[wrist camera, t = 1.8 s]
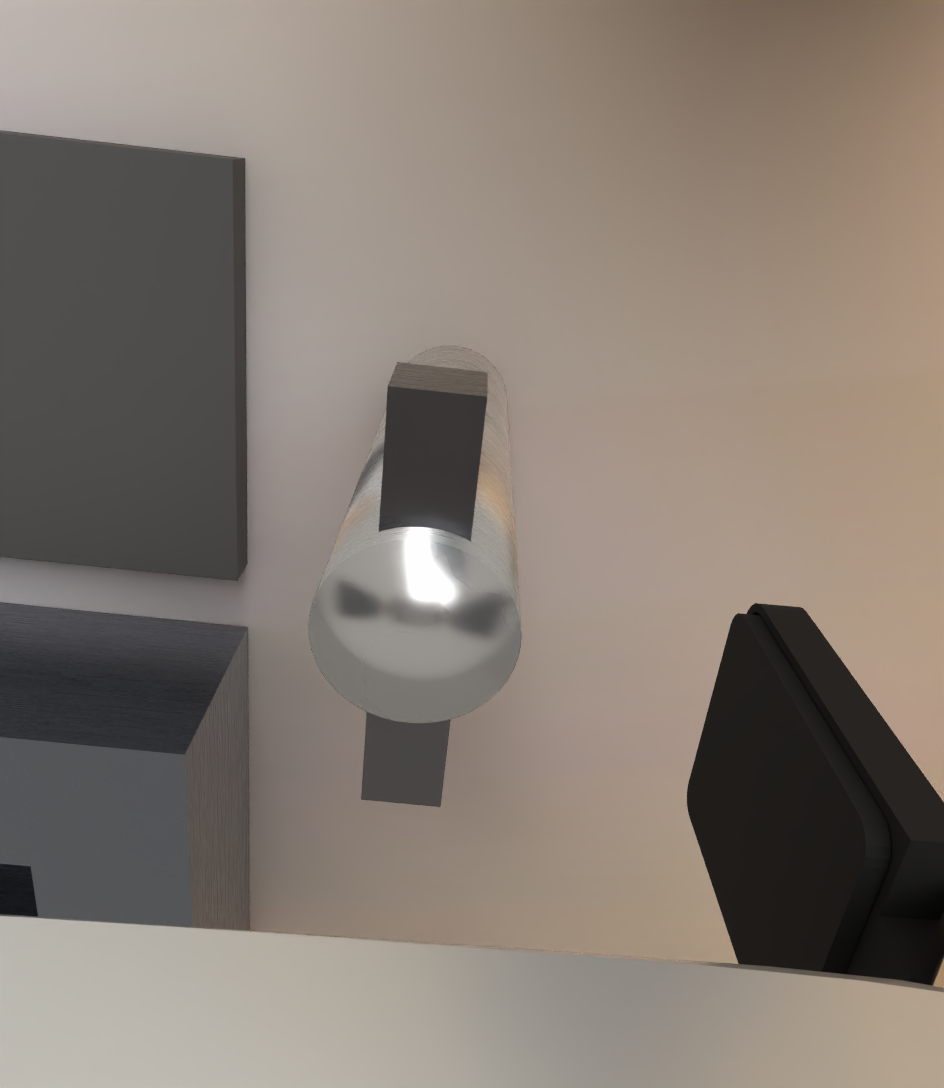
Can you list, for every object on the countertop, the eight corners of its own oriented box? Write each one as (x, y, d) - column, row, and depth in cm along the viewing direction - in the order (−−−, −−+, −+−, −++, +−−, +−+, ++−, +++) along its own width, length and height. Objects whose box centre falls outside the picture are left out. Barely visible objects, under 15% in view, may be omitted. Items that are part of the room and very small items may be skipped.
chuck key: (523, 274, 20) (555, 413, 10) (491, 526, 23) (492, 830, 13) (402, 261, 20) (315, 387, 10) (385, 516, 23) (302, 813, 13)
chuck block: (247, 627, 24) (184, 754, 19) (249, 933, 29) (200, 1096, 24) (-190, 583, 24) (-369, 701, 19) (-112, 900, 29) (-236, 1059, 24)
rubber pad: (244, 158, 19) (232, 159, 18) (247, 563, 23) (237, 580, 22) (-218, 105, 19) (-253, 104, 18) (-130, 524, 23) (-156, 540, 22)
